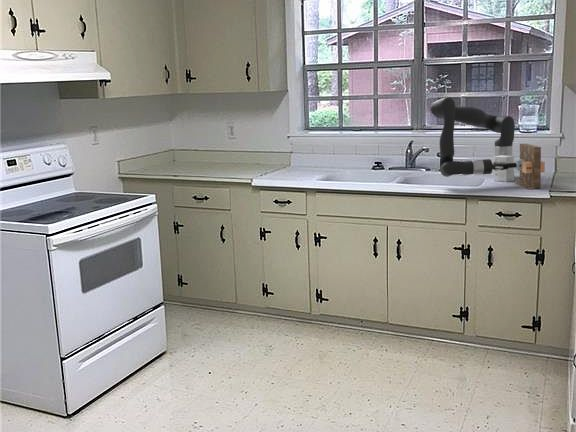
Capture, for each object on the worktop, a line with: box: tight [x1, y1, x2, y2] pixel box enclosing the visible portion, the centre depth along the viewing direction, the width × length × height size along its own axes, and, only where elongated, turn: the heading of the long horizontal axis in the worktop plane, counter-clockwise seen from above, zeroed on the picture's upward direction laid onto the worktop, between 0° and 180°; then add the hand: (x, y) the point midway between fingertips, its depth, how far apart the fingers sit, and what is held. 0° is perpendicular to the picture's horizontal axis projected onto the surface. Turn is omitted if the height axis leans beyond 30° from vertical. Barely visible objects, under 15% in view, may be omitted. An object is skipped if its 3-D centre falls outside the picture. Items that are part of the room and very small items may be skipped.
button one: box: [514, 158, 525, 172], centre depth 329 cm, size 5×9×5 cm, turn 89°
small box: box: [493, 155, 515, 183], centre depth 346 cm, size 8×6×13 cm
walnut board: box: [514, 143, 542, 190], centre depth 324 cm, size 21×6×20 cm, turn 179°
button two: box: [522, 160, 546, 173], centre depth 318 cm, size 5×9×5 cm, turn 89°
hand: (515, 165), depth 330 cm, fingers closed
